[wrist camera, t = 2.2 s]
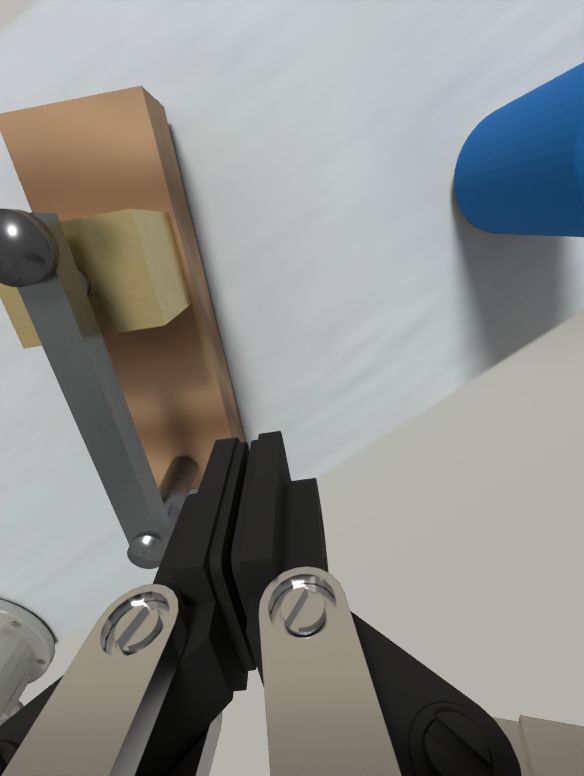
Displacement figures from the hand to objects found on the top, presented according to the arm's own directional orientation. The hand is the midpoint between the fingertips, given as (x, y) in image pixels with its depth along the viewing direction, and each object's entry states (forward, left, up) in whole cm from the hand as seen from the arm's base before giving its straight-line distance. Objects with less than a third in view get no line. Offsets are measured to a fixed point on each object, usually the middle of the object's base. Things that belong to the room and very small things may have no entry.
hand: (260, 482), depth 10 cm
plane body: (+2, +7, -17) cm, 19 cm away
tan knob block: (+5, +7, -13) cm, 16 cm away
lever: (0, +7, -13) cm, 15 cm away
